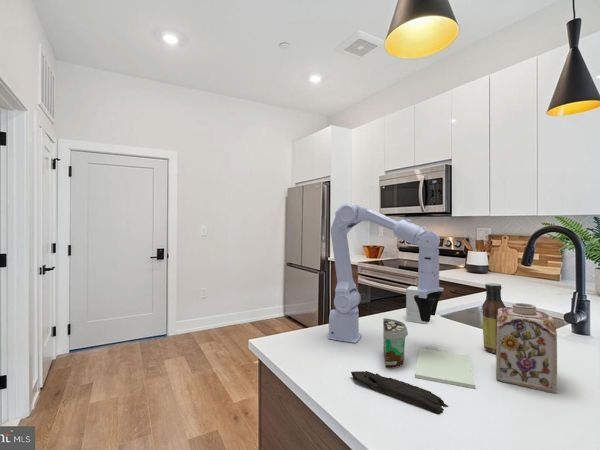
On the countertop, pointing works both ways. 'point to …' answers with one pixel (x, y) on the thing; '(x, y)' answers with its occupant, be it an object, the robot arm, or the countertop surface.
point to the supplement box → (412, 305)
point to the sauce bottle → (491, 315)
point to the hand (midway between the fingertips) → (428, 318)
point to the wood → (402, 391)
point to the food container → (394, 342)
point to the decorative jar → (526, 347)
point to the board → (445, 368)
